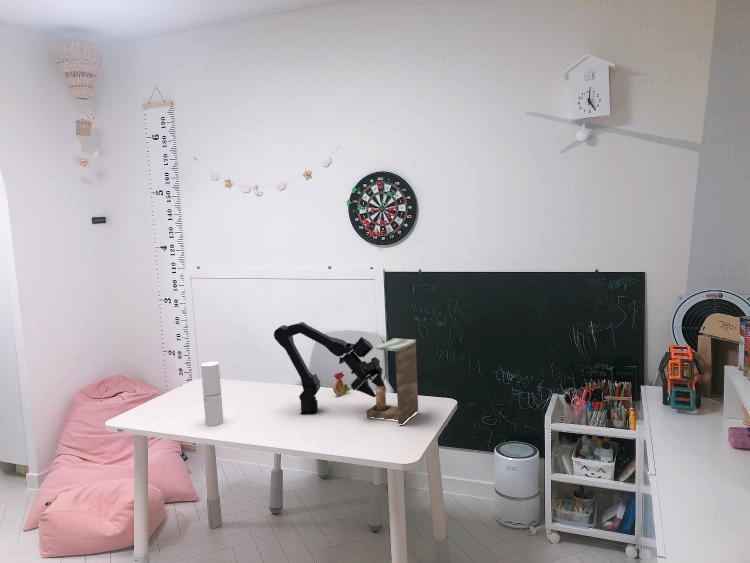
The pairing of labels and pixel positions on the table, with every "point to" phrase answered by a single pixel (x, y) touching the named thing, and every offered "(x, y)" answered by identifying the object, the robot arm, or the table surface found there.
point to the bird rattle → (339, 387)
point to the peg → (380, 398)
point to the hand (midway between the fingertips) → (380, 393)
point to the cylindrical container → (212, 393)
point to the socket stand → (401, 381)
